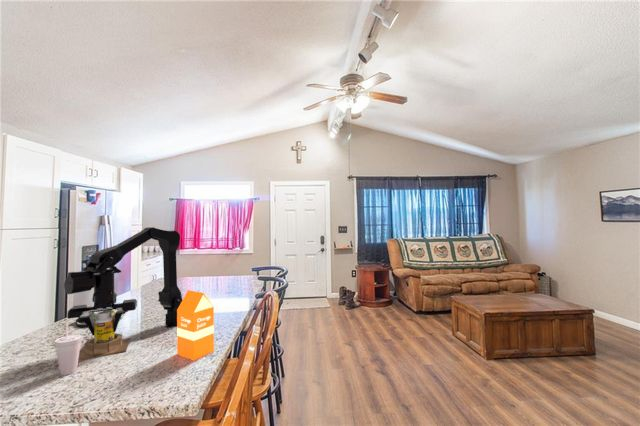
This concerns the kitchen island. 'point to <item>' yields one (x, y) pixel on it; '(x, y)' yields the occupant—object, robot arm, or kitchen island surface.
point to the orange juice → (195, 326)
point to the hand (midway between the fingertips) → (104, 333)
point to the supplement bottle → (104, 327)
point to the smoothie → (68, 352)
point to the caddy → (103, 347)
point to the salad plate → (82, 324)
